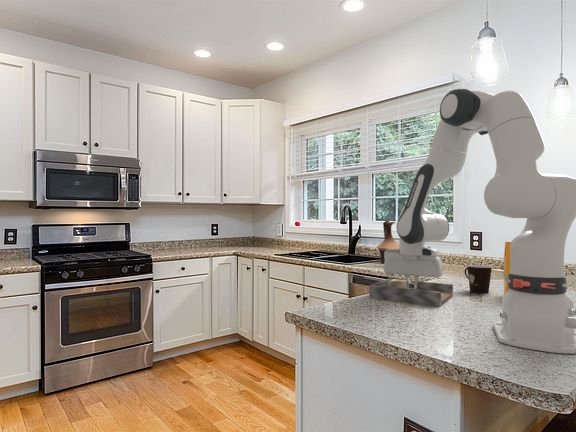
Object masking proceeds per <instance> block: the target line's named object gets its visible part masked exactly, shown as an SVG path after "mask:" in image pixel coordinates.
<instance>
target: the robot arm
mask: <svg viewBox="0 0 576 432" xmlns="http://www.w3.org/2000/svg"><path fill="white" fill-rule="evenodd" d="M439 106H440V107H439V115H440V121H439V122H438V124H437V127H436V129H435V133H434V134H433V138H432V141H431V145H430V150H429V153H428V156H427V158H426V160H425V162H424V163H423V165H422V166H421V167H420V168H419V169H418V170H417V173H416V174H415V177H414V180H413V183H412V186H411V188H410V191H409V194H408V198H407V200H406V203H405V205H404V206H403V207H402V208H401V210H400V215H399V218H398V220H397V223H396V233H397V235H398V237H399V243H398V245H399V249H388V250H386V251H389V252H386V251H385V252H384V258H385V262H384V264H383V272H384V273H385V274H387V275H388V274H389V275H399V276H404V280H406V282H407V283H408V288H413V289H416V288H417V283H418V281H421V278H432V279H433V278H434V279H438V278H439V279H440V278H441V277H442V276H443V274H444V272H443V263H442V259H441V257H440V256H438V255H440V250H439V249H438V248H435V247H432V246H429V245H426V243H433V242H435V243H436V242H441V241H444V240H445V239H446V238H447V237H448V235H449V233H450V224H449V221H448V219H447V217H446V216H445V215H443V214H441V213H436V212H434V211H431V210H429V209H427V208H426V205H427V202H428V199H429V197H430V194H431V192H432V190H433V189H434V188H435V187H436V186H437V185H438V184H440V183H442V182H444V181H446V180H449V179H451V178H453V177H455V176H457V175H458V174H459V173H460V172H461V171H462V169H463V167H464V165H465V162H466V159H467V153H468V150H469V144H470V141H471V138H472V137H473V136H474V135H475V134H479V135H480V136H483V135H484V136H485V135H487V134H488V137H489V140H490V143H491V145H492V146H491V147H492V150H493V153H494V156H495V164H496V168H495V173H494V176H493V177H492V178H491V179H490V180H489V181H488V182H487V184H486V185H485V188H484V190H483V191H484V193H483V201H484V204H485V205H486V207H487V209H488V210H489V212H491V213H493V214H495V215H498V216H501V217H505V218H510V219H526V222H525V225H524V227H523V229H522V230H521V232H520V233H519V235H517V236H516V237H514V238H513V239H512V240H511V241H510V242H511V244H510V273H509V274H508V288H509V290H508V291H507V292H506V293H503V294H502V296H501V312H500V313H499V317H500V318H501V321H494V322H492V329H493V332H494V333H495V337H496V338H497V340H498V342H500V343H502V344H505V345H508V346H514V347H518V348H523V349H527V350H535V351H542V352H546V353H547V352H548V353H554V354H555V353H556V354H572V355H573V354H576V331H575V330H576V317H575V316H576V309H575V302H574V301H573V300H572V299H570V297H568V296H567V294H566V293H567V287H568V283H567V277H566V276H565V273H564V272H565V246H566V240H567V238H568V234H569V231H570V229H571V226H572V224H573V223H574V220H575V219H576V178H575V177H572V176H569V175H565V174H560V173H559V174H558V173H557V174H553V173H541V172H540V171H539V170H538V167H537V161H538V159H539V158H540V157H541V156H542V155H543V153H544V151H545V149H546V144H545V143H546V142H545V141H544V139H543V136H542V133H541V131H540V128H539V126H538V122H537V121H536V118H535V116H534V113H533V112H532V110H531V108H530V106H529V104H528V103H527V102H526V100H525V98H524V97H523V95H521V93H519V92H517V91H515V90H503V91H499V92H498V93H496V94H493V93H490V92H486V91H482V90H477V89H474V90H473V89H467V88H456V89H453V90H449V91H448V92H447V93H446V94H445V96H444V97H443V99H442V100H441V102H440V105H439ZM411 277H414V281H415V282H414V283H411V282H410V278H411Z"/></svg>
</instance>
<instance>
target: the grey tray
mask: <svg viewBox="0 0 576 432" xmlns="http://www.w3.org/2000/svg"><path fill="white" fill-rule="evenodd" d="M393 279H394V278H386V279H384V280H381V281H377V282H376V283H372V284H368V289H369V290H368V294H369V295H368V297H369V299H373V300H374V299H375V300H382V301H389V302H390V301H391V302H397V303H398V302H399V303H405V304H414V305H415V304H416V305H424V306H431V307H438V308H440V307H443V305H445V304H446V303H448V302H449V300H451V299H452V298H454V284H453V283H442V282H431V281H421V280H419V281H418V283H417V288H416V289H413V288H410V289H406V288H396V287H388V281H390V280H393ZM397 279H398V278H397ZM398 280H401V279H398ZM409 280H410V279H409ZM410 282H411V283H414V282H415V280H410Z"/></svg>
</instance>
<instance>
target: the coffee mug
mask: <svg viewBox="0 0 576 432" xmlns="http://www.w3.org/2000/svg"><path fill="white" fill-rule="evenodd" d="M492 269H493V268H492V266H491V265H490V266H489V265H482V264H481V265H479V264H469V265H466V268H464V275H465V277H466V278H467V280H468V284H469V291H470V293H473V294H480V295H484V294H485V295H486V294H487V295H488V294H489V293H490V285H491V284H490V283H491V277H492Z"/></svg>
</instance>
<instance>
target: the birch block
mask: <svg viewBox="0 0 576 432" xmlns="http://www.w3.org/2000/svg"><path fill="white" fill-rule="evenodd" d="M392 279H393V280H390V281H388V287H396V288H406V289H410V288H408V283H407V282H406V280H405V279H400V280H398V278H392Z"/></svg>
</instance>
